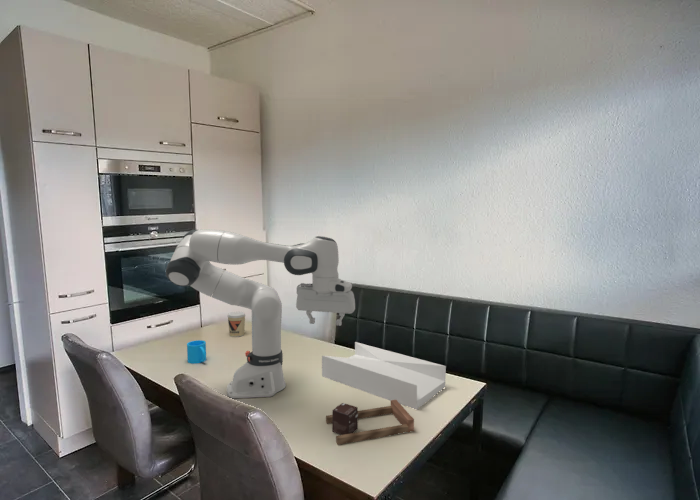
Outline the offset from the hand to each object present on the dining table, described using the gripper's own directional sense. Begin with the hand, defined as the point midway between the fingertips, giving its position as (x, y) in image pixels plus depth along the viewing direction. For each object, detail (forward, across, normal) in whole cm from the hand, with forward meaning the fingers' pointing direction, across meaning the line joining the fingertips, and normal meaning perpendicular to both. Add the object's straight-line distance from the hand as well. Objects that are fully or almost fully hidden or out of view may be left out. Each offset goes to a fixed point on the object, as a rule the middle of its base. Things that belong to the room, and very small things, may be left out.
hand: (325, 324), depth 140 cm
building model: (+31, +16, +27) cm, 44 cm away
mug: (+30, -69, +29) cm, 81 cm away
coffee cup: (+30, -71, +69) cm, 103 cm away
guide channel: (+30, +16, -8) cm, 35 cm away
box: (+31, +10, -12) cm, 34 cm away
